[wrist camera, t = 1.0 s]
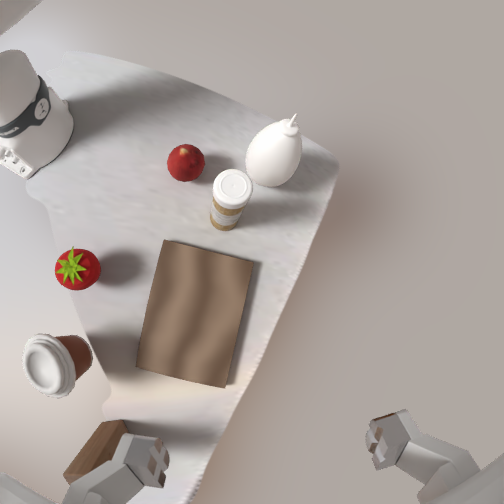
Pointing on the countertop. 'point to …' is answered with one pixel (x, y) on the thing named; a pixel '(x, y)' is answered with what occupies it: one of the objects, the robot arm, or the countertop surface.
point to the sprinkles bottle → (229, 198)
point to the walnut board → (193, 314)
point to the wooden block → (96, 450)
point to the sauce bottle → (274, 153)
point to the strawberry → (77, 269)
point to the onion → (185, 162)
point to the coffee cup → (55, 363)
